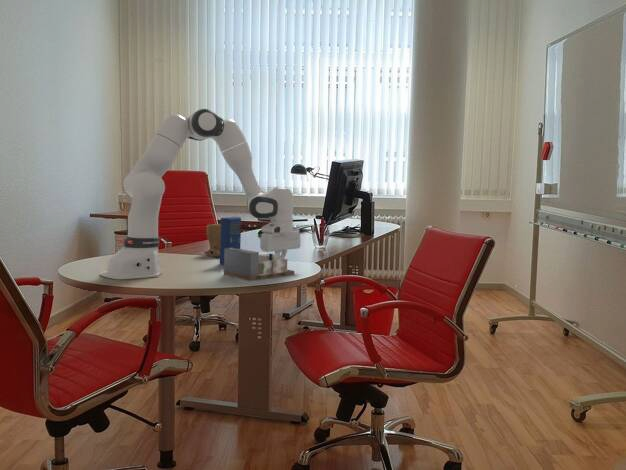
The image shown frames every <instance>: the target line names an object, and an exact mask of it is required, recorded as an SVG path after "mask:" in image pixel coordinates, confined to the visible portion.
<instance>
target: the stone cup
mask: <svg viewBox="0 0 626 470" xmlns="http://www.w3.org/2000/svg"><path fill="white" fill-rule="evenodd" d="M205 234H206V237H207V241H208V242H209V249H207V250H206V251H204V254H205V255H206V256H208V257H211V258H217V257H220V248H221V223H213V224H207V225H206V232H205Z"/></svg>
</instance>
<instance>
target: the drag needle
mask: <svg viewBox="0 0 626 470" xmlns="http://www.w3.org/2000/svg"><path fill="white" fill-rule="evenodd" d="M268 254H269V260H273V255H274V254H273V253H268Z"/></svg>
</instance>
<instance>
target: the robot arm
mask: <svg viewBox="0 0 626 470" xmlns="http://www.w3.org/2000/svg"><path fill="white" fill-rule="evenodd" d="M188 139H190V140H193V141H200V142H201V141H205V140H208V139H212V140H213V141H214V142H215V143H216V145H218V147H219V150H220V152H221V155H222V157H223V159H224V161H225V162H226V164H227V165H228V167H229V168H230V169H231V170H232V171H233V172H234V173H235V175H236V176H237V178H238V179H239V182H240V184H241V185H242V188H243V191H244V193H245V195H246V196H245V197H246V207H247V211H248V213H249V214H250V215H251V216H252V217H254V218H256V219H259V220H263V219H264V220H265V219H268V218H270V222H269V223H267V224H264V225H263V226H261V229H260V231H261V232H262V233H261V235H260V241H259V242H260V250H261V251H262V252H264V253H266V252H267V253H268V252H274V255H278V260H279V259H286V258H285V257H286V255H287V253H288V250H296V249H300V247H301V244H302V243H301V234H300V228H299V227H298V226H296V225H295V226H293V225H294V224H293V223H294V221H293V220H294V219H293V211H294V195H293V192H292V191H291V190H290V189H288V188H286V187H281V186H274V187H273V188H272V189H270V190H268V191H266V192H263V191H262V190H261V188H260V185H259V183H258V181H257V178H256V177H255V174H254V172H253V163H252V162H253V157H252V153H251V149H250V146H249V143H248V141H247V139H246V136H245V135H244V132H242V130H241V128H240V126H239V125H238V124H237V122H236V121H235V120H233V119H229V118H228V119H224V118H222V117H221V116H219V115H218V114H217V113H216V112H215V111H213V110H211V109H209V108H200V109H198V110H197V111H195V112H193V113H191V115H189V116H188V117H184V116H182V115H180V114H178V113H177V114H176V113H172V114H169V115H168V116H166V118H165V119H164V120H163V121H162V123H160V125H159V127H158V129H156V132H155V133H154V135H153V137H152V139H151V141H150V142H149V143H148V146H147V148H146V149H145V151H144V153H143V154H142V155H141V156H140V158H139V159H138V160H137V162H136V163H135V165H134V166H133V167H132V168H131V170H130V172H128V174H127V175H126V176H125V178H124V180H123V189H124V191H125V192H126V194H127V195H128V196H129V197H131V198H132V199H131V206H130V210H129V213H128V215H127V236H126V238H122V237H119V238H118V239H117V241H118V243H119V244H123V247H121V248H120V249H119V250H118V251H117V252H116V253H114V254H113V255H112V256H111V257H109V259H108V263H107V266H106V267H107V268H106V270H103V271H101V272H100V275H101V276H102V277H104V278H108V279H114V280H130V279H133V280H134V279H144V278H145V279H146V278H155V277H157V278H158V277H159V276H160V275H161V274H162V270H161V265H160V259H159V247H160V237H159V214H160V208H161V205H162V198H163V195H164V193H165V191H166V185H165V181H164V180H163V178H162V177H163V176H164V175H165V174H166V173H167V172H168V170H169V169H171V167H172V166H173V164H174V163H175V160H176V158H177V157H178V155H179V154H180V151H181V149H182V148H183V146H184V144H185V142H186V140H188Z"/></svg>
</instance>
